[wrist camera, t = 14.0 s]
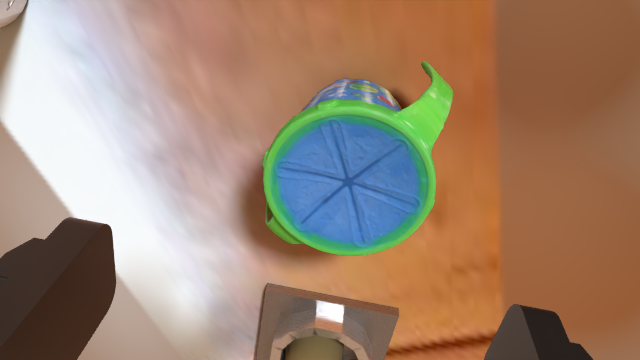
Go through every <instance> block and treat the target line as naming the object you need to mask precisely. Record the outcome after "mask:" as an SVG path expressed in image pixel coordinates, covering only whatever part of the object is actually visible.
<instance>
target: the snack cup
mask: <svg viewBox="0 0 640 360" xmlns="http://www.w3.org/2000/svg"><path fill="white" fill-rule="evenodd" d="M421 65H422V67H423V69H424V70H425V72H426V73H427V74H428V75H429V77H430V78H431V81H432V83H431V85H430V87H429V88H428V89H427V90H426V91H425V92H424V93H423V94H422V95H421V97H420V98H419V99H418V100H417V101H416V102H414V103H413V104H411V105H410V106H409V107H407V108H404V109H401V107H400V105H399V103H398V102H397V100H396V99H395V98H394V97H393V96H392V95H391V93H390V92H389V91H387V90H386V89H384V88H383V87H381V86H379V85H377V84H375V83H372V82H370V81H366V80H362V79H346V78H345V79H342V80H337V81H336V82H334V83H333V84H331V85H329V86H327V87H325V88H324V89H323V90H321V91H320V92H319V93H318V94H317V95H316V96H315V97H314V98H313V99H312V100H311V101H310V102H309V104H308V105H307V106H306V107H305V108H304V109H303V110H302V112H301V113H299V114H298V115H296V116H294V117H293V118H292V119H291V120H290V121H289V122H288V123H287V124H286V125H285V126H284V127H283V128H282V129H281V130H280V132H279V133H278V134H277V136H276V138H275V139H274V141H273V143H272V145H271V147H270V148H269V149H268V150H267V151H266V152H265V155H264V159H263V162H262V167H263V169H264V173H263V186H264V193H265V196H266V199H267V200H266V208H265V224H266V226H267V227H268V228H269V229H270V230H271V231H272V232H273V233H275V234H276V235H277V236H278V237H280V238H281V239H282V240H284V241H285V242H287V243H289V244H306V245H308V246H310V247H312V248H315V249H317V250H320V251H323V252H327V253H330V254H336V255H344V256H359V255H368V254H373V253H377V252H381V251H384V250H386V249H389V248H391V247H394V246H396V245H397V244H399V243H401V242H403V241H404V240H405V239H407V238H408V237H409V236H410V235H412V234H413V233H414V232H415V231H416V230H417V229H418V228H419V226H420V225H421V224H422V223H423V221H424V220H425V218H426V216H427V215H428V214H429V213H430V211H431V210H432V207H433V205H434V202H435V199H434V196H435V190H436V176H435V168H434V163H433V159H432V156H431V150H432V147H433V145H434V143H435V141H436V139H437V138H438V136H439V134H440V132H441V130H442V129H443V126H444V123H445V121H446V119H447V117H448V114H449V111H450V106H451V104H452V98H453V90H452V89H451V87H450V86H449V85H448V84H447V83H446V82H445V81H444V80H443V79H442V78H441V77H440V75H439V74H438V73H437V72H436V71H435V69H434V68H433V67H432V66H430V65H429V64H428V63H427V62H422V63H421Z"/></svg>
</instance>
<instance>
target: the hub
mask: <svg viewBox="0 0 640 360" xmlns="http://www.w3.org/2000/svg"><path fill="white" fill-rule="evenodd" d="M398 317H399V310H398V308H394V307H389V306H383V305H378V304H373V303H368V302H363V301H357V300H352V299H347V298H342V297H337V296H331V295H326V294H321V293H316V292H311V291H305V290H300V289H295V288H290V287H285V286H279V285H274V284H269V283H267V287H266V290H265V298H264V305H263V312H262V319H261V327H260V334H259V341H258V349H257V356H256V360H285V350H286V346H287V345H288V344H290V343H291V342H292V341H293V340H295V339H299V338H304V337H310V336H321V337H326V338H331V339H336V340H338V341H340V342H341V343H343V344H344V353H343V357H342V360H384V357H385V355H386V352H387V349H388V346H389V343H390V340H391V337H392V334H393V331H394V328H395V326H396V323H397V320H398Z"/></svg>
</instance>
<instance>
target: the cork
mask: <svg viewBox="0 0 640 360" xmlns="http://www.w3.org/2000/svg"><path fill="white" fill-rule="evenodd" d="M343 353H344V344H343V343H341V342H340V341H338V340H336V339H331V338H326V337H321V336H310V337H304V338H299V339H295V340H293V341H292V342H291V343H290V344H288V345H287V346H286V350H285V360H342V357H343Z"/></svg>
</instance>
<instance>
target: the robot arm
mask: <svg viewBox="0 0 640 360" xmlns="http://www.w3.org/2000/svg"><path fill="white" fill-rule="evenodd" d="M26 2H27V0H0V28H1V27H4V26H6V25H8V24H9V23H11V22H13V21H14V20H15V19H16V18H17V17H18V16H19V15H20V14H21V13H22V11H23V9H24V6H25V4H26ZM115 287H116V275H115V262H114V249H113V237H112V230H111V227H110V226H109V225H107V224H103V223H98V222H92V221H87V220H82V219H77V218H72V217H70V218H67V219H65V220H63V221H62V222H61V223H60V224H59V225H58V226H57V227H56V228H55V230H54V231H53V232H52V233H51V234H50V235H49V236H48V237H47V238H46V239H45V240H43V239H38V238H33V239H31V240H29V241H27V242H25V243H24V244H22V245H20V246H18V247H16V248H14V249H12V250H11V251H9V252H7V253H5V254H4V255H3V256H2V257H1V258H0V360H77V359H78V357H79V355H80V354H81V352H82V351H83V349H84V348H85V346H86V345H87V343H88V341H89V340H90V338H91V337H92V335H93V334H94V332H95V331H96V329H97V327H98V326H99V324H100V323H101V321H102V320H103V318H104V316H105V315H106V313H107V312H108V310H109V308H110V305H111V303H112V300H113V297H114V293H115ZM484 360H593V359H592V358H591V356H590V355H589V354H588V353H587V352H586V351H585V349H584V348H583V347H582V346H581V345H580V344H576V343H571V342H570V341H569V339H568V337H567V334H566V332H565V330H564V327H563V325H562V322H561V320H560V318H559V316H558V315H557V314H556V313H555V312H553V311H549V310H544V309H539V308H533V307H528V306H523V305H518V304H514V305H512V306H511V307H510V308H509V310H508V311H507V313H506V315H505V317H504V319H503V321H502V323H501V325H500V327H499V329H498V331H497V333H496V335H495V337H494V339H493V341H492V343H491V345H490V347H489V349H488V350H487V353H486V355H485V358H484Z"/></svg>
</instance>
